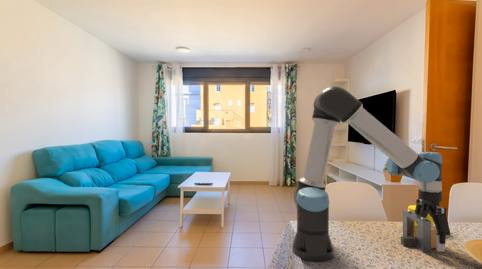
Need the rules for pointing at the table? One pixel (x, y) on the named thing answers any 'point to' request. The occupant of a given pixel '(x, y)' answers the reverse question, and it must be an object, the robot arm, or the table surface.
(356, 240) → the table surface
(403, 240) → the plug
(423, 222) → the gray arch block
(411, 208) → the tape roll
